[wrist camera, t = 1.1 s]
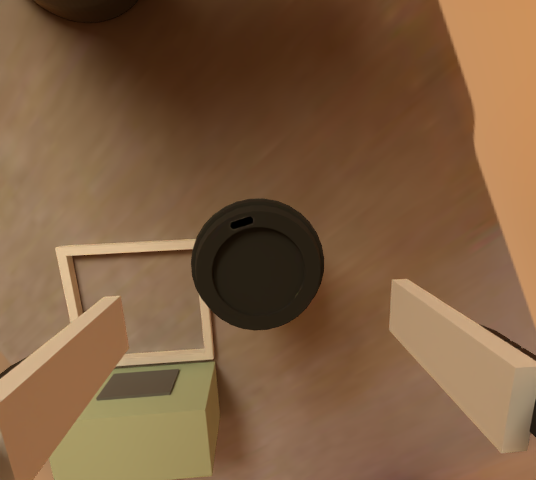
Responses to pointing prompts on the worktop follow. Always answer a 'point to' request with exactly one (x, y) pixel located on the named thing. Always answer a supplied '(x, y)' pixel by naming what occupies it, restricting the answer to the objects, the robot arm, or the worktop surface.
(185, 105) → the worktop surface
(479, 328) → the robot arm
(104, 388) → the green block with frame
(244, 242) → the coffee cup
